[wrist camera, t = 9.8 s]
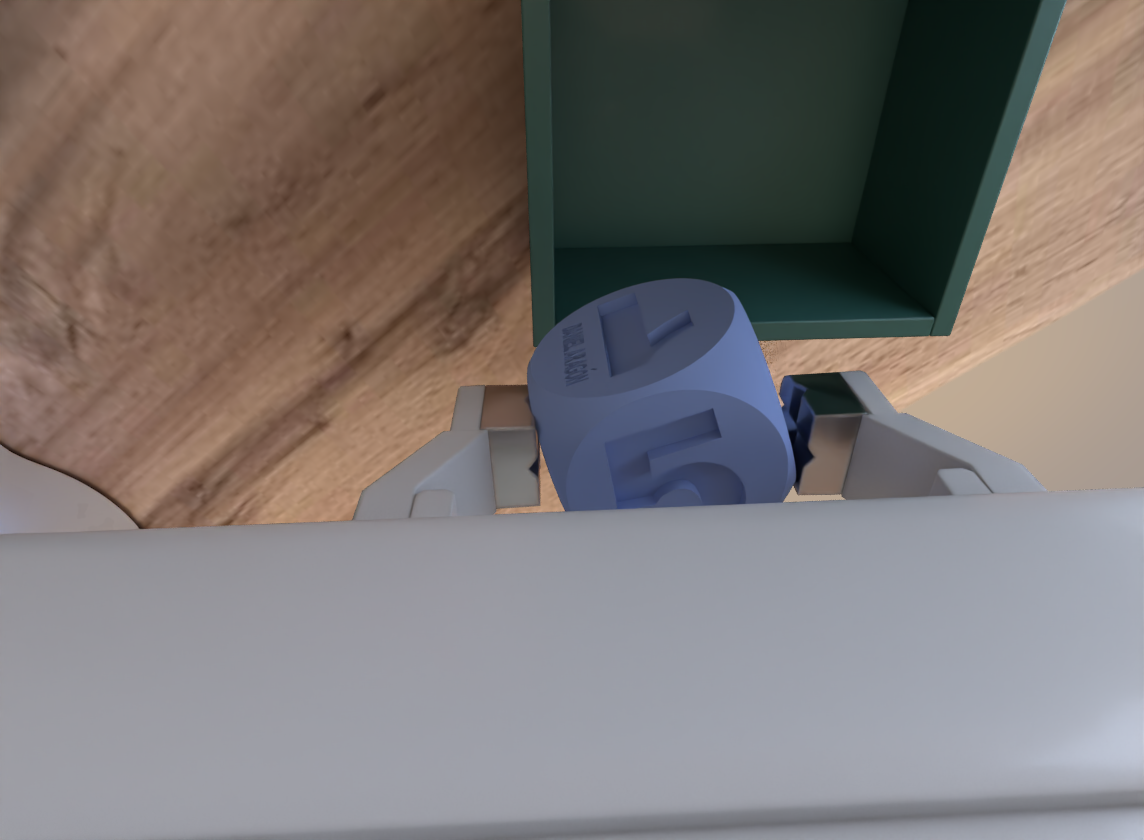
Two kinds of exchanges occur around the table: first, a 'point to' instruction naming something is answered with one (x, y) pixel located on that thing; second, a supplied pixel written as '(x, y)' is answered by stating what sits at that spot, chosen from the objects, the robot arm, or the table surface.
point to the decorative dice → (659, 402)
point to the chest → (774, 152)
